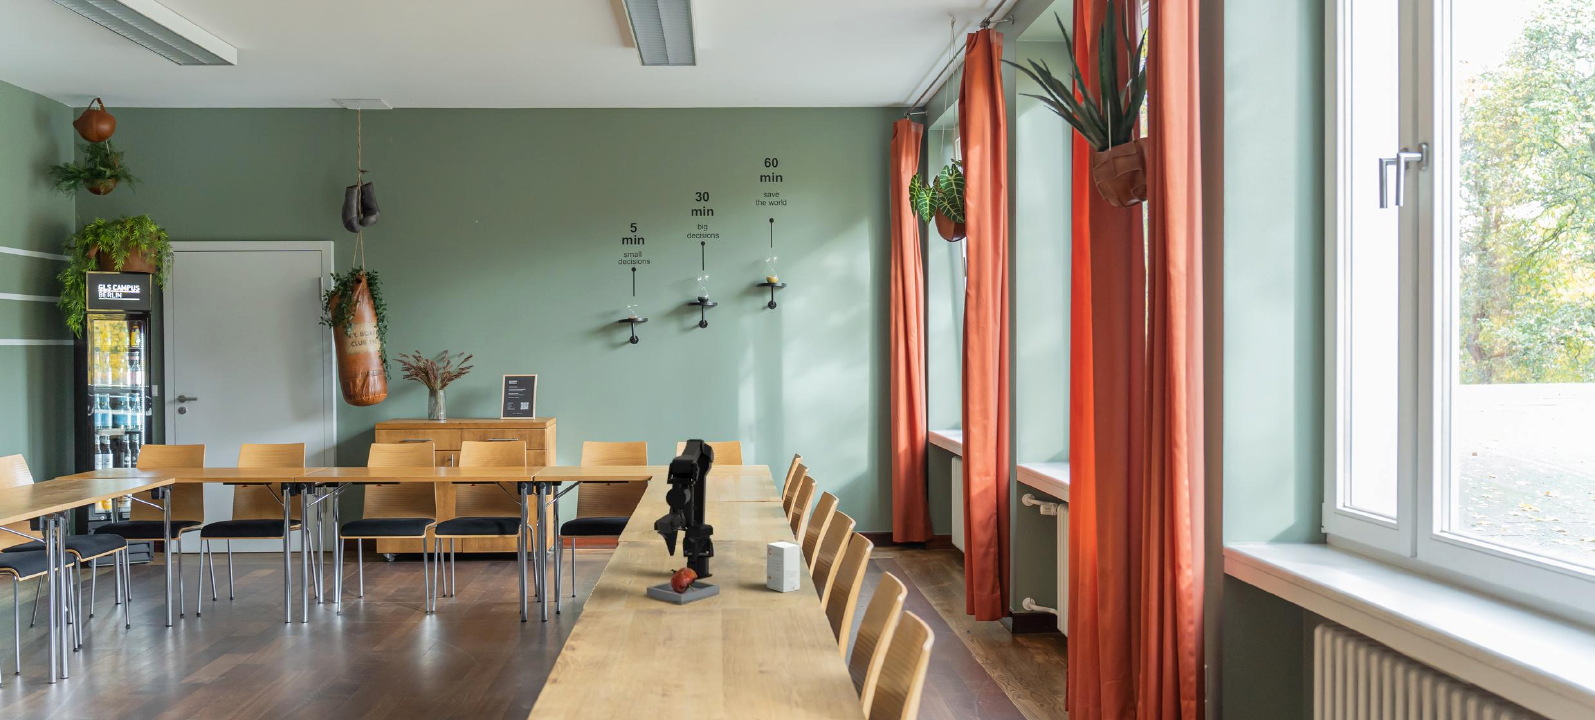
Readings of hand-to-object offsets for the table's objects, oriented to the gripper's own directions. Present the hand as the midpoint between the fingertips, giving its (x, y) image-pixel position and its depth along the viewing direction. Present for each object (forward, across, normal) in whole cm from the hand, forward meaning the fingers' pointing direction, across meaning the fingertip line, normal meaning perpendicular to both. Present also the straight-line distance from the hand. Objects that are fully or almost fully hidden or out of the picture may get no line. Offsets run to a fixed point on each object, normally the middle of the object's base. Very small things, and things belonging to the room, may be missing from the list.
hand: (683, 557), depth 267 cm
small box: (+11, +17, +24) cm, 31 cm away
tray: (+11, 0, 0) cm, 11 cm away
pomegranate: (+10, 0, 0) cm, 10 cm away
